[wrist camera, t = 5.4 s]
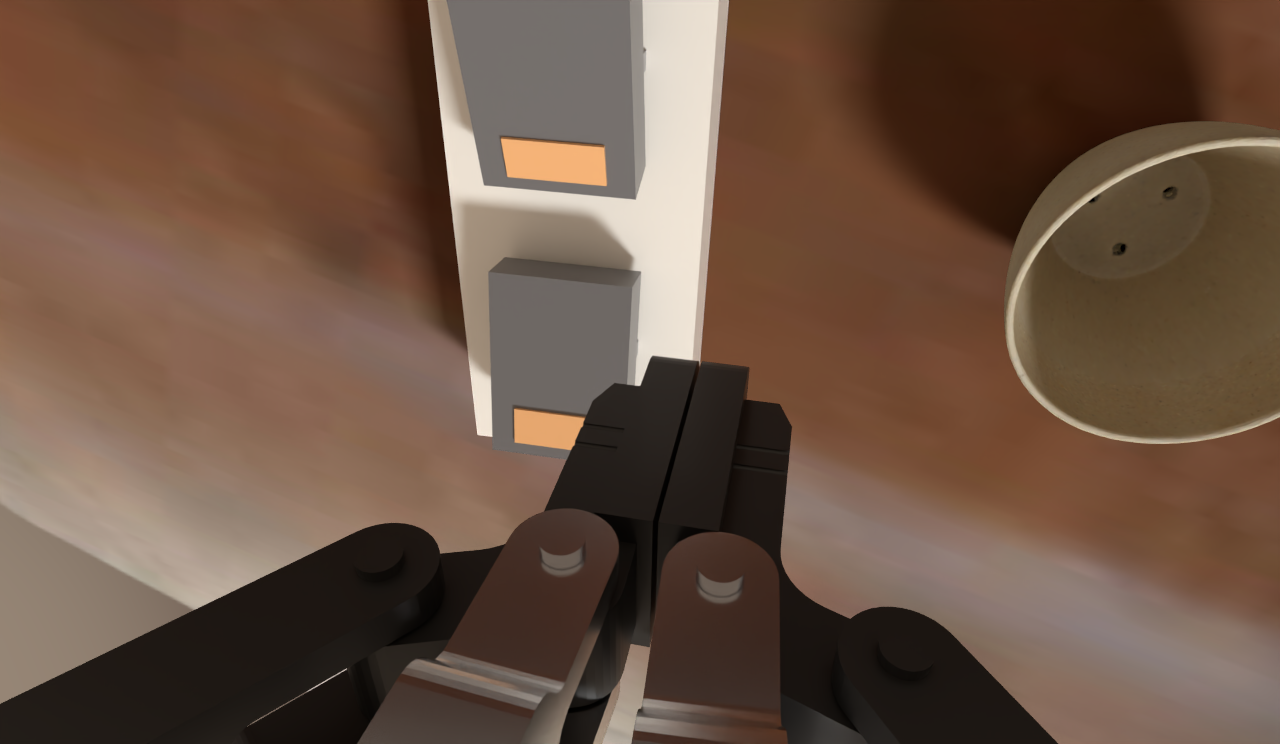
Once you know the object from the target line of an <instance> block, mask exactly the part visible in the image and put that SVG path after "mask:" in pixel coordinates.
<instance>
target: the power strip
mask: <svg viewBox="0 0 1280 744" xmlns="http://www.w3.org/2000/svg"><path fill="white" fill-rule="evenodd" d="M642 3H643V55H644V106H645V157H646V167H645V170H644V173H643V177H642V180H641V184H640V187H639V191H638V194H637V197H636V200H634V199H623V198H613V197H602V196H592V195H581V194H570V193H560V192H549V191H538V190H528V189H517V188H506V187H496V186H485V185H484V183H483V179H482V174H481V169H480V164H479V159H478V154H477V149H476V144H475V139H474V134H473V129H472V124H471V119H470V114H469V109H468V104H467V99H466V94H465V89H464V84H463V79H462V75H461V70H460V65H459V60H458V55H457V50H456V45H455V40H454V35H453V30H452V25H451V20H450V15H449V10H448V5H447V0H428V7H429V16H430V25H431V33H432V42H433V51H434V60H435V68H436V77H437V86H438V94H439V103H440V112H441V121H442V129H443V138H444V147H445V155H446V164H447V173H448V181H449V190H450V199H451V208H452V216H453V225H454V234H455V242H456V251H457V260H458V269H459V277H460V286H461V295H462V303H463V312H464V321H465V330H466V338H467V347H468V356H469V364H470V373H471V382H472V391H473V399H474V408H475V417H476V425H477V434H478V435H483V436H490V437H492V402H491V362H490V322H489V282H488V272H489V271H490V270H491V269H492V268H493V267H494V266H495V265H497V264H498V263H499V262H500V261H501V260H502V259H503V258H504V257H509V258H519V259H528V260H538V261H547V262H557V263H566V264H576V265H585V266H595V267H604V268H614V269H623V270H632V271H641V286H640V303H639V321H638V338H637V356H636V373H635V386H640V385H641V382H642V380H643V377H644V374H645V372H646V369H647V366H648V363H649V361H650V358H651V357H652V356H661V357H669V358H678V359H686V360H694V361H699V366H700V356H701V344H702V331H703V319H704V306H705V293H706V281H707V268H708V256H709V243H710V231H711V218H712V206H713V193H714V180H715V168H716V155H717V143H718V130H719V118H720V105H721V93H722V80H723V67H724V55H725V42H726V30H727V17H728V5H729V0H642Z"/></svg>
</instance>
